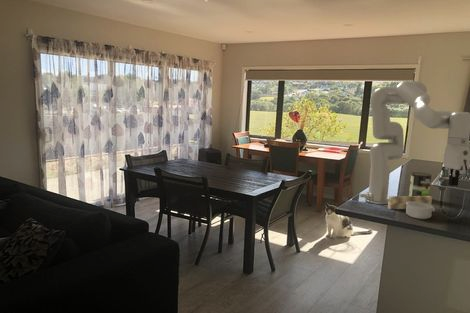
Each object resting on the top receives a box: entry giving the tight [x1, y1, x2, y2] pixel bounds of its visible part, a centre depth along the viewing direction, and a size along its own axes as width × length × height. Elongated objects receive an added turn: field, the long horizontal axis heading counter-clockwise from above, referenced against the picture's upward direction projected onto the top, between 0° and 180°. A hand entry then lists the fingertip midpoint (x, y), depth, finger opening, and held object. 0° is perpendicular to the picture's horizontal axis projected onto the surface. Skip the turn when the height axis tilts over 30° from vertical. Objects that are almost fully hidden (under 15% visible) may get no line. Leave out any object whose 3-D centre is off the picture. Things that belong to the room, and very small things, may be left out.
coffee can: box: [408, 171, 433, 196], centre depth 204 cm, size 10×10×14 cm
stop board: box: [387, 195, 433, 210], centre depth 184 cm, size 22×2×6 cm, turn 97°
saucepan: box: [405, 202, 456, 220], centre depth 170 cm, size 12×20×6 cm, turn 63°
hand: (453, 185), depth 154 cm, fingers closed
